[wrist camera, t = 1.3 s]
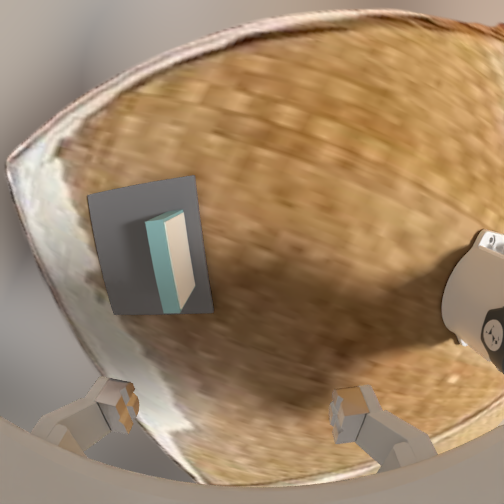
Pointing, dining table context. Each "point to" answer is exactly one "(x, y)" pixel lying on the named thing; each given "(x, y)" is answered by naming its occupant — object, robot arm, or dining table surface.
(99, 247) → the mat
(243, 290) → the dining table surface
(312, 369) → the dining table surface
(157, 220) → the box
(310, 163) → the dining table surface
